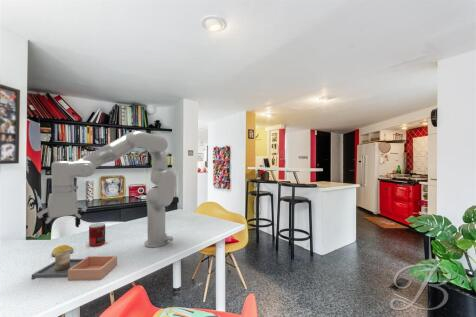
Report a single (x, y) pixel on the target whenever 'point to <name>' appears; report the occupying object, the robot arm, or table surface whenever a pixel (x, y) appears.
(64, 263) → the beech cylinder
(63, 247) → the bread roll
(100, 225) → the canned food
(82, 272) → the salmon square tray
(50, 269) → the charcoal tray
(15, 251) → the table surface
